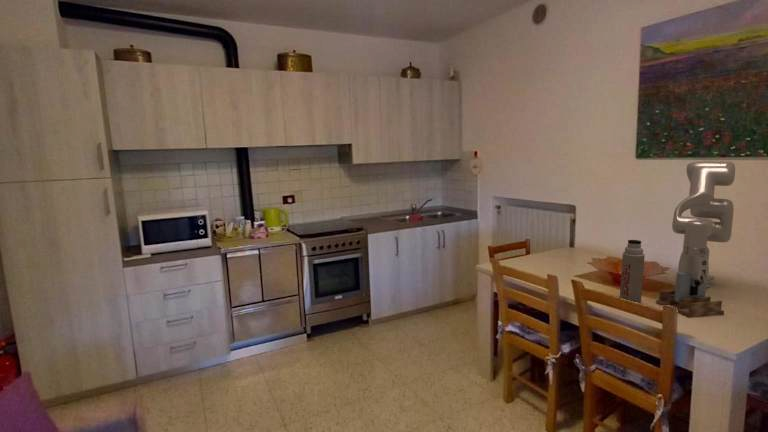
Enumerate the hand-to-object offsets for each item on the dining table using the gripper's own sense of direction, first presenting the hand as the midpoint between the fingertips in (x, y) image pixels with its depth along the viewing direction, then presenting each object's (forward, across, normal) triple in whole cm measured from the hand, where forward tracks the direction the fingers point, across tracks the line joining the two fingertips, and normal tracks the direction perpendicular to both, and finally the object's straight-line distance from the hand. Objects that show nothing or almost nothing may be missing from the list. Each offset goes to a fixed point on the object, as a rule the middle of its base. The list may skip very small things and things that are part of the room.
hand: (690, 293), depth 169 cm
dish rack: (+7, 0, 0) cm, 7 cm away
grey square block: (+3, 0, 0) cm, 3 cm away
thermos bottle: (+7, +10, +19) cm, 23 cm away
